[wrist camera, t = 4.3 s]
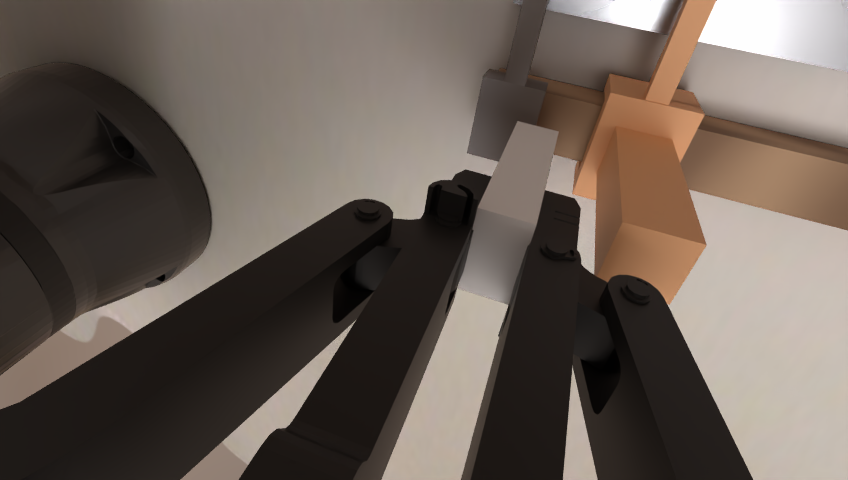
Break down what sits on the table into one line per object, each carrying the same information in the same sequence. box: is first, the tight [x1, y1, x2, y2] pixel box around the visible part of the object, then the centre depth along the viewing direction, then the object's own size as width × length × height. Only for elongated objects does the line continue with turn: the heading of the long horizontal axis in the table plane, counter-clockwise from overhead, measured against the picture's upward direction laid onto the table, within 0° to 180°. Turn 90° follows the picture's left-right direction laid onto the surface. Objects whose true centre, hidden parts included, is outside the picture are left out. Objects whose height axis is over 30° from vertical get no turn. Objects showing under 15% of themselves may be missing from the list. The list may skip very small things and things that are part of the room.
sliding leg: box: [572, 0, 717, 304], centre depth 14 cm, size 3×10×10 cm, turn 174°
